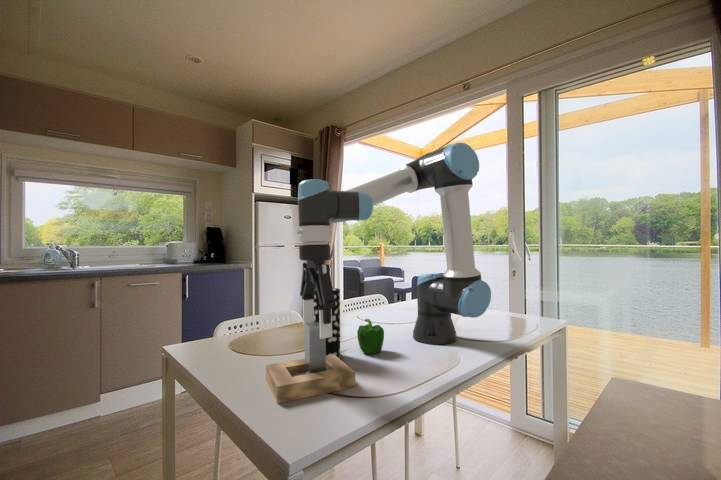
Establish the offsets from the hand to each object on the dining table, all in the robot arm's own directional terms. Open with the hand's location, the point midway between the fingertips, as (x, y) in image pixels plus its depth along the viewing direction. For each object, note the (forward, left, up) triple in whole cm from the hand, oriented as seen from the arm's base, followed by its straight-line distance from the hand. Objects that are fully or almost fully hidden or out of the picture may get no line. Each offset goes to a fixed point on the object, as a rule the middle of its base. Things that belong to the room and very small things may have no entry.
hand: (316, 330), depth 79 cm
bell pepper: (-22, -14, -13) cm, 29 cm away
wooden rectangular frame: (+2, 0, -12) cm, 12 cm away
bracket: (+2, 0, -12) cm, 12 cm away
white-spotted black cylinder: (-8, -16, -13) cm, 22 cm away
